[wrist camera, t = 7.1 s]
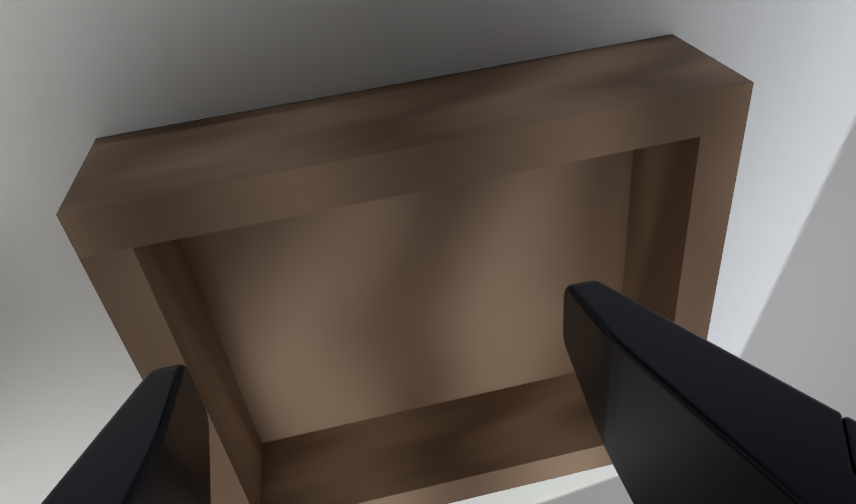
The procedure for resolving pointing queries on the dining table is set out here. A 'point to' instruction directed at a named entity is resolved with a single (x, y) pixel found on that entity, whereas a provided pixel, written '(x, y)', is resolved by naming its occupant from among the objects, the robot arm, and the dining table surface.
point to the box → (412, 264)
